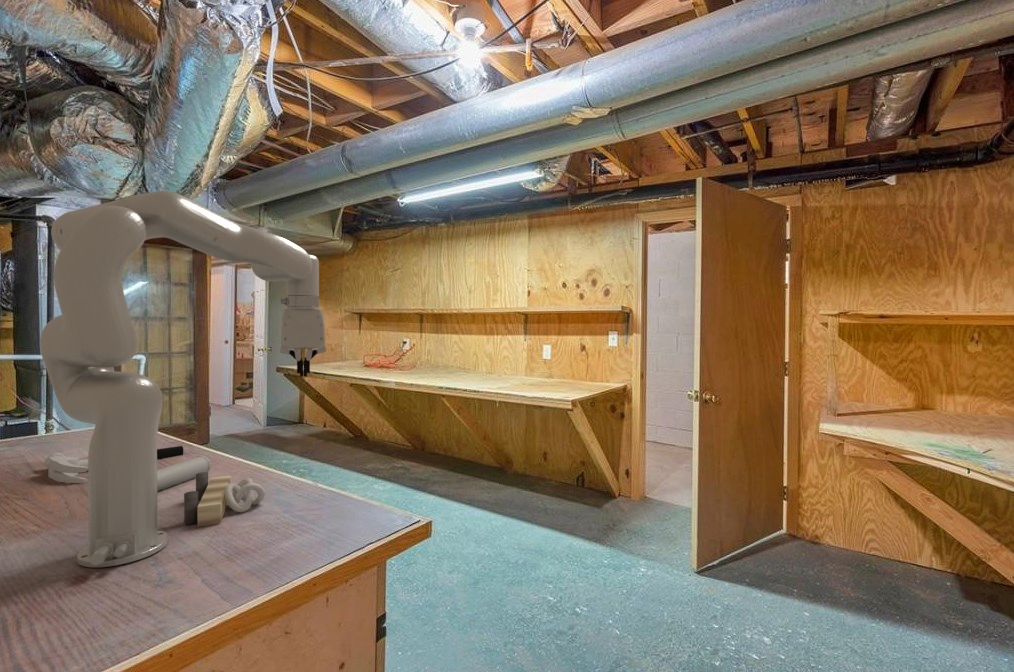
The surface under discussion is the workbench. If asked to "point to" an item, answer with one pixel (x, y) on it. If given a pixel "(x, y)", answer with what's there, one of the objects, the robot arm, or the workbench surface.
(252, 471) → the workbench surface
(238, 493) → the knot
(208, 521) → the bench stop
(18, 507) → the workbench surface
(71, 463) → the claw hammer
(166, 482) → the tube
